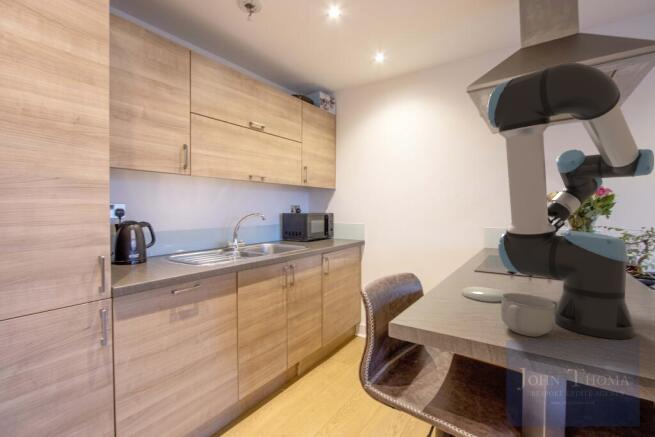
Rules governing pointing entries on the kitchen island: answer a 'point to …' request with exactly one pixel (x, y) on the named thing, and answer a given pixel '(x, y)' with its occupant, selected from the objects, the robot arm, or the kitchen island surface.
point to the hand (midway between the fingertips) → (512, 254)
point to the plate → (483, 294)
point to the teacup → (527, 314)
